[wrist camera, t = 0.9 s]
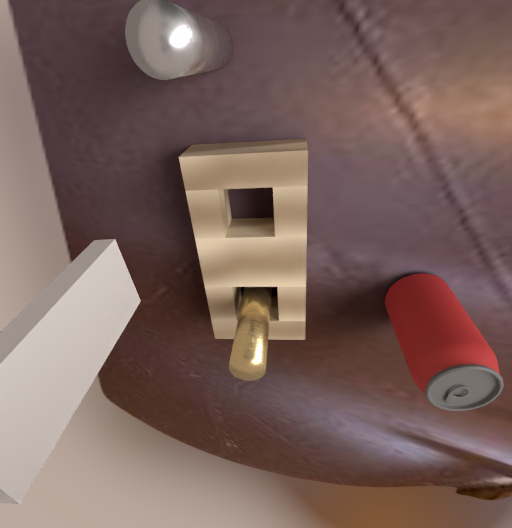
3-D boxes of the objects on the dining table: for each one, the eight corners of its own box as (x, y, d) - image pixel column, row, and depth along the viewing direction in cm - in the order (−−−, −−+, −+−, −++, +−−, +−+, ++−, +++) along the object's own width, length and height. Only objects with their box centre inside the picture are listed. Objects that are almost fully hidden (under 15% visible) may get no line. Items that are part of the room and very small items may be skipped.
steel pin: (190, 23, 23) (116, 1, 13) (230, 19, 23) (184, -7, 13) (197, 71, 25) (136, 82, 15) (235, 68, 25) (197, 77, 15)
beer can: (371, 306, 36) (402, 402, 26) (405, 261, 33) (455, 352, 23) (422, 323, 37) (471, 423, 27) (461, 281, 33) (533, 378, 24)
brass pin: (244, 270, 35) (226, 355, 25) (271, 269, 35) (264, 356, 25) (247, 291, 37) (231, 379, 27) (273, 291, 36) (266, 380, 26)
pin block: (191, 144, 28) (178, 156, 25) (305, 138, 27) (308, 150, 24) (221, 314, 39) (215, 338, 36) (303, 314, 38) (305, 339, 35)
